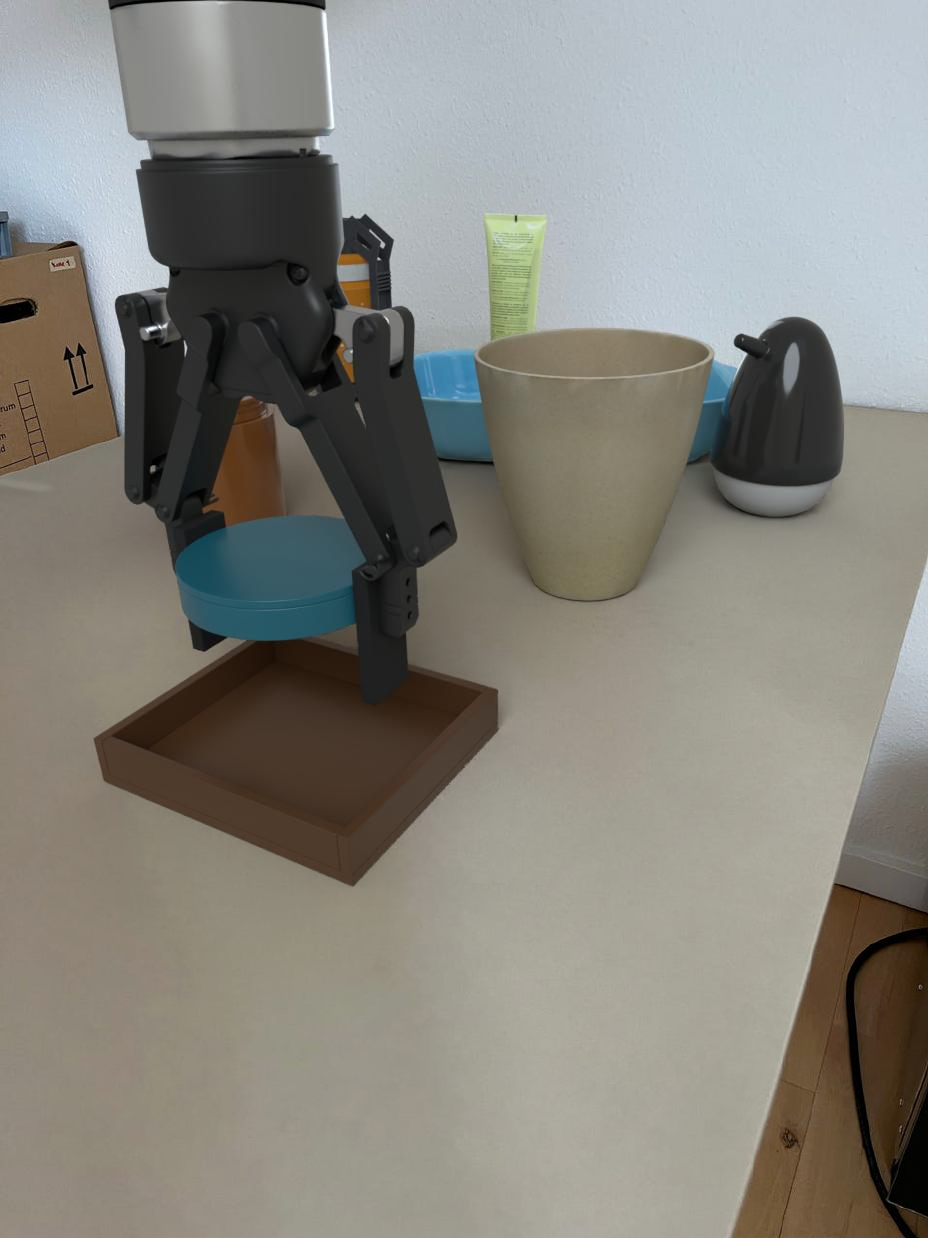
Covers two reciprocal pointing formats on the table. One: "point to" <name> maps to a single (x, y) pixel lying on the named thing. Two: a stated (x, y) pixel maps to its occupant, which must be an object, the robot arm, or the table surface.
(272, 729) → the tray
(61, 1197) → the table surface
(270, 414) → the jam jar
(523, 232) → the tube
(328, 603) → the lid
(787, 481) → the pump dispenser
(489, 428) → the plant pot
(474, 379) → the casserole dish
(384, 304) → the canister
